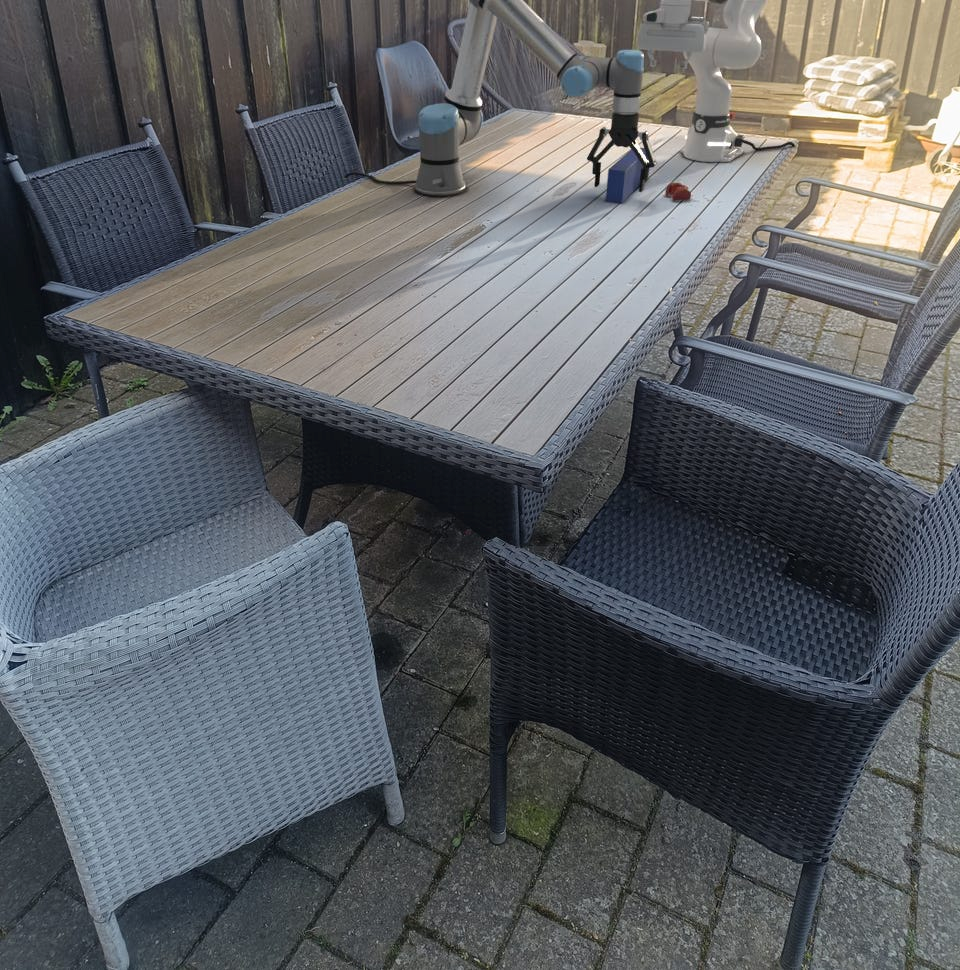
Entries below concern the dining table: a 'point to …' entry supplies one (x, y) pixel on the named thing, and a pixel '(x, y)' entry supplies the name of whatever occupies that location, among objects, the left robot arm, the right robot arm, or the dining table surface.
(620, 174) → the bar
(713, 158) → the right robot arm
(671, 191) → the dental model
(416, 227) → the dining table surface
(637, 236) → the dining table surface
